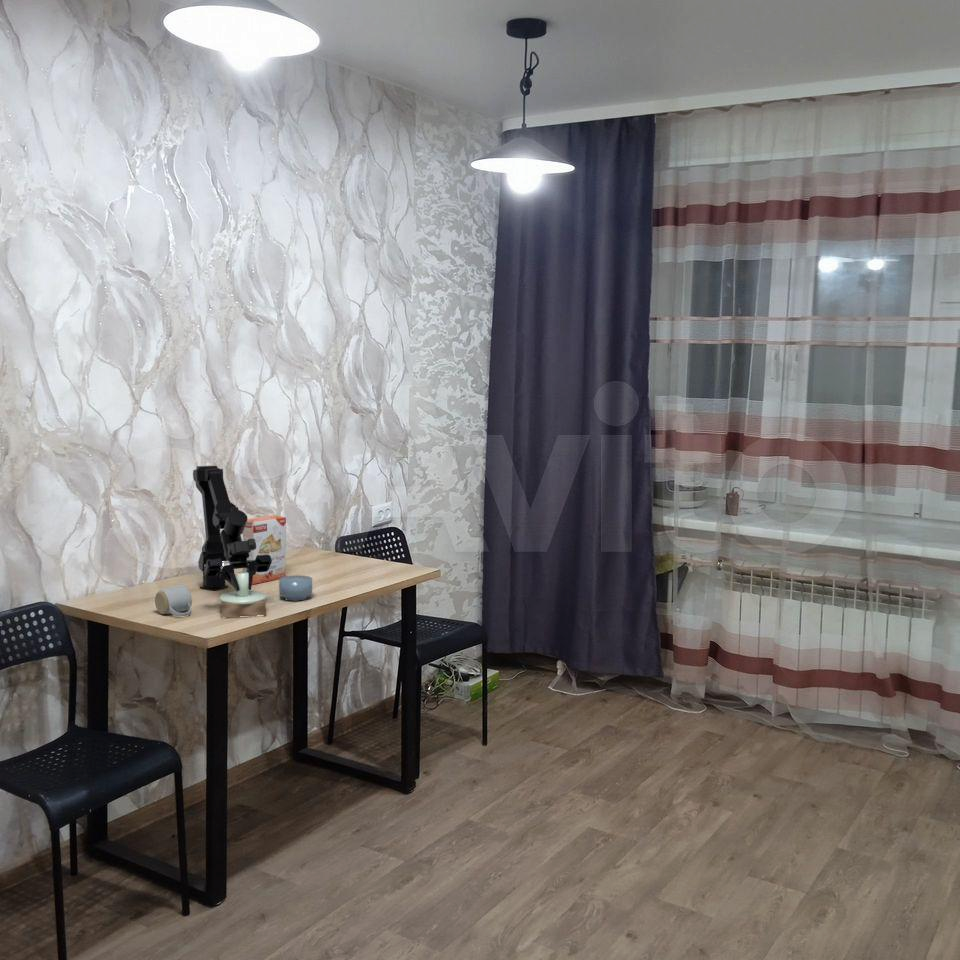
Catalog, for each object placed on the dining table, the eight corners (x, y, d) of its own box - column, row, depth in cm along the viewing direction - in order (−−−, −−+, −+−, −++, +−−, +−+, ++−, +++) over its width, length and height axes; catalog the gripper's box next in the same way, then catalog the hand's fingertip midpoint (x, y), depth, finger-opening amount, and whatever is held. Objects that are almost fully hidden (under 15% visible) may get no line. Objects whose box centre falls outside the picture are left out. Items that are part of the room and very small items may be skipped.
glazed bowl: (272, 599, 299) (272, 580, 298) (293, 592, 308) (293, 574, 307) (297, 603, 294) (297, 584, 293) (318, 597, 303) (318, 578, 302)
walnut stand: (222, 618, 276) (222, 604, 276) (221, 607, 288) (221, 594, 287) (265, 616, 280) (265, 602, 279) (263, 605, 291) (263, 592, 290)
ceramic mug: (153, 612, 281) (152, 586, 280) (178, 607, 287) (178, 582, 286) (173, 620, 274) (173, 593, 273) (199, 615, 280) (198, 588, 279)
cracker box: (253, 585, 316) (253, 521, 314) (241, 582, 320) (241, 519, 317) (287, 578, 327) (286, 516, 325) (274, 575, 331) (274, 514, 328)
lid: (210, 600, 281) (209, 574, 280) (241, 591, 292) (241, 566, 291) (244, 606, 274) (244, 580, 273) (275, 597, 286) (275, 571, 285)
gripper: (206, 531, 279) (216, 577, 271) (269, 527, 289) (282, 571, 281) (199, 553, 287) (209, 599, 279) (261, 548, 296) (273, 592, 288)
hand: (244, 589), depth 282 cm, fingers closed on lid, 3 cm apart
